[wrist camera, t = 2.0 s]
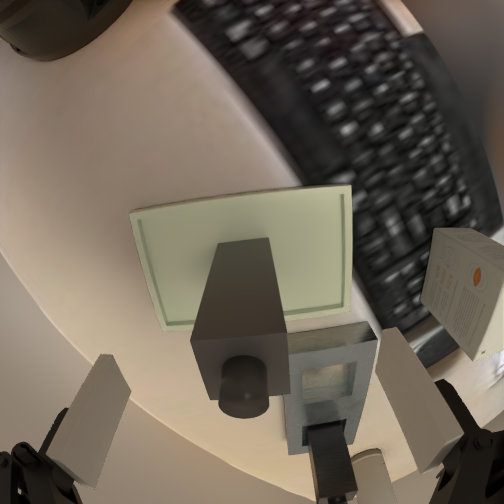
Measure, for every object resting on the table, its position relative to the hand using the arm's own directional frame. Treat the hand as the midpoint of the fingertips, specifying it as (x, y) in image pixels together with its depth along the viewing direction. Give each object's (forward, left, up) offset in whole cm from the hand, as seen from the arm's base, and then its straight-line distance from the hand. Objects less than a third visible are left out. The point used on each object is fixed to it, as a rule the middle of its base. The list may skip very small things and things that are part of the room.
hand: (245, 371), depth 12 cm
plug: (0, 0, -12) cm, 12 cm away
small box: (+3, +20, -12) cm, 24 cm away
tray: (0, 0, -12) cm, 12 cm away
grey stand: (+18, +7, -12) cm, 22 cm away
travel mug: (+41, +16, -12) cm, 45 cm away
